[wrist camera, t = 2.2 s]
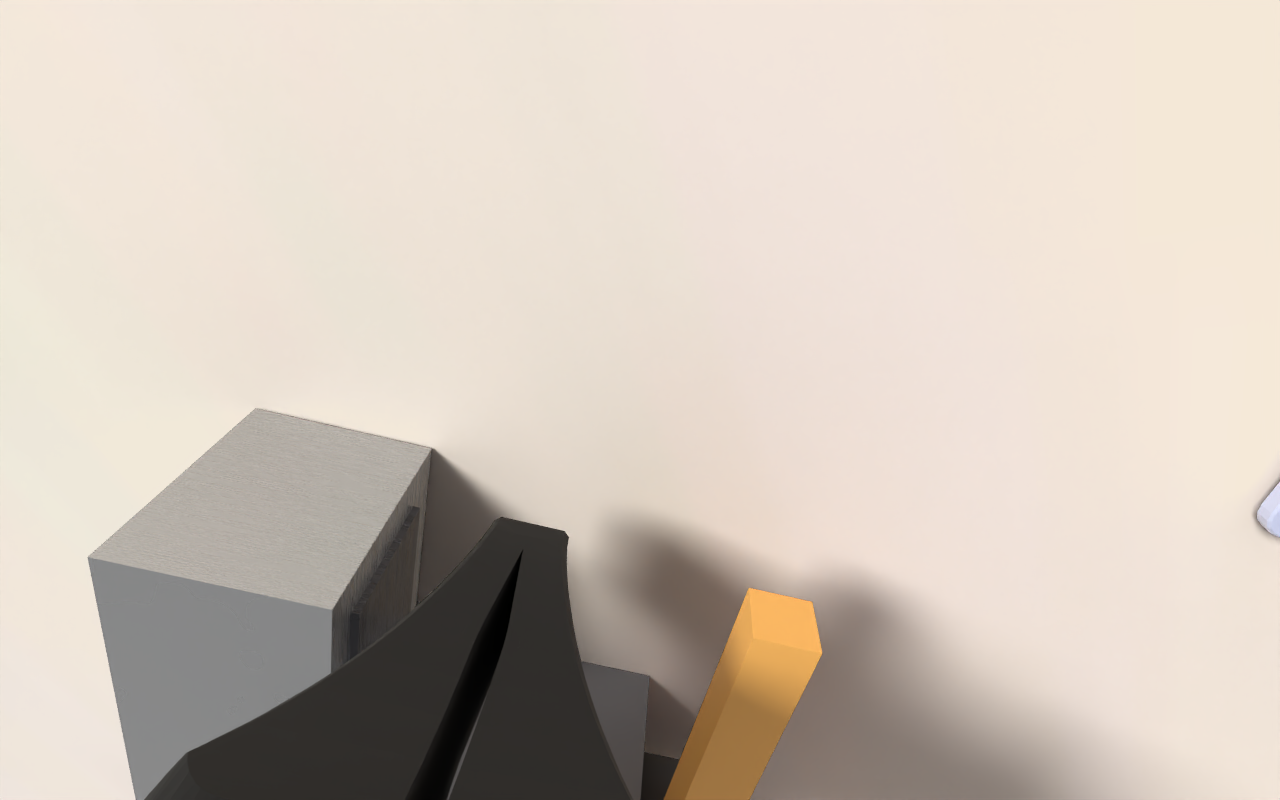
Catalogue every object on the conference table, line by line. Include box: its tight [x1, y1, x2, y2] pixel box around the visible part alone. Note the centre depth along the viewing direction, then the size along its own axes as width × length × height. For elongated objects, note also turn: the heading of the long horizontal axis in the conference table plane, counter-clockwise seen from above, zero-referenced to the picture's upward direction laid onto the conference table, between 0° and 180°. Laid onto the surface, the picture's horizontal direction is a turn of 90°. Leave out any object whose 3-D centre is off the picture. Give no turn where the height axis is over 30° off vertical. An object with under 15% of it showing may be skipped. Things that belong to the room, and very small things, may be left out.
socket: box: [88, 408, 432, 800], centre depth 18 cm, size 4×16×5 cm, turn 167°
